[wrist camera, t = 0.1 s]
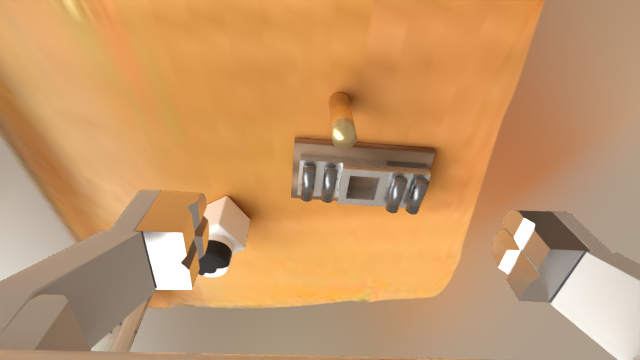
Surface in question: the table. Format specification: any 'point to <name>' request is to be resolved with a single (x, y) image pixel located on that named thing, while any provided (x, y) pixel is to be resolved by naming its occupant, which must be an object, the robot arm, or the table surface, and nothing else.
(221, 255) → the medicine bottle
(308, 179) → the chain end left
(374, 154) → the chain base
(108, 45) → the table surface
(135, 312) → the spray can
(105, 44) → the table surface
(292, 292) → the table surface
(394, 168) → the chain end right
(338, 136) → the pin
